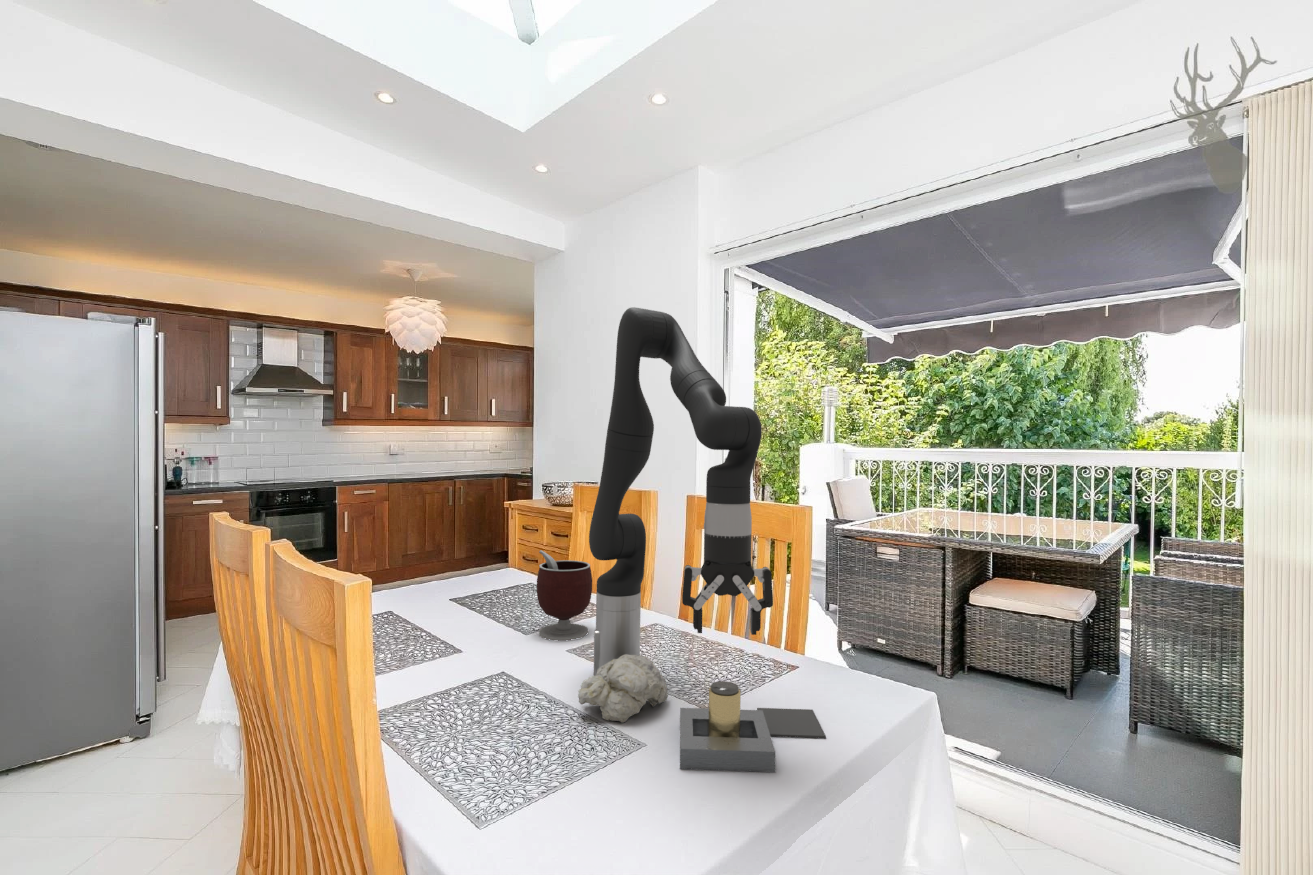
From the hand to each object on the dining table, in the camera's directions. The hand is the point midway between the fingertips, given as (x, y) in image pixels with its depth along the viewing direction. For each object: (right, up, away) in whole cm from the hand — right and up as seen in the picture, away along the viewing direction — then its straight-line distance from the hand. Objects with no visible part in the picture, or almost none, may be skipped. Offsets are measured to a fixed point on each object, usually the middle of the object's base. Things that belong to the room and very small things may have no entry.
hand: (726, 632), depth 97 cm
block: (0, -18, 0) cm, 18 cm away
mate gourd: (-35, -19, +57) cm, 70 cm away
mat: (+12, -18, +8) cm, 23 cm away
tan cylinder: (0, -18, 0) cm, 18 cm away
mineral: (-17, -18, +13) cm, 28 cm away
